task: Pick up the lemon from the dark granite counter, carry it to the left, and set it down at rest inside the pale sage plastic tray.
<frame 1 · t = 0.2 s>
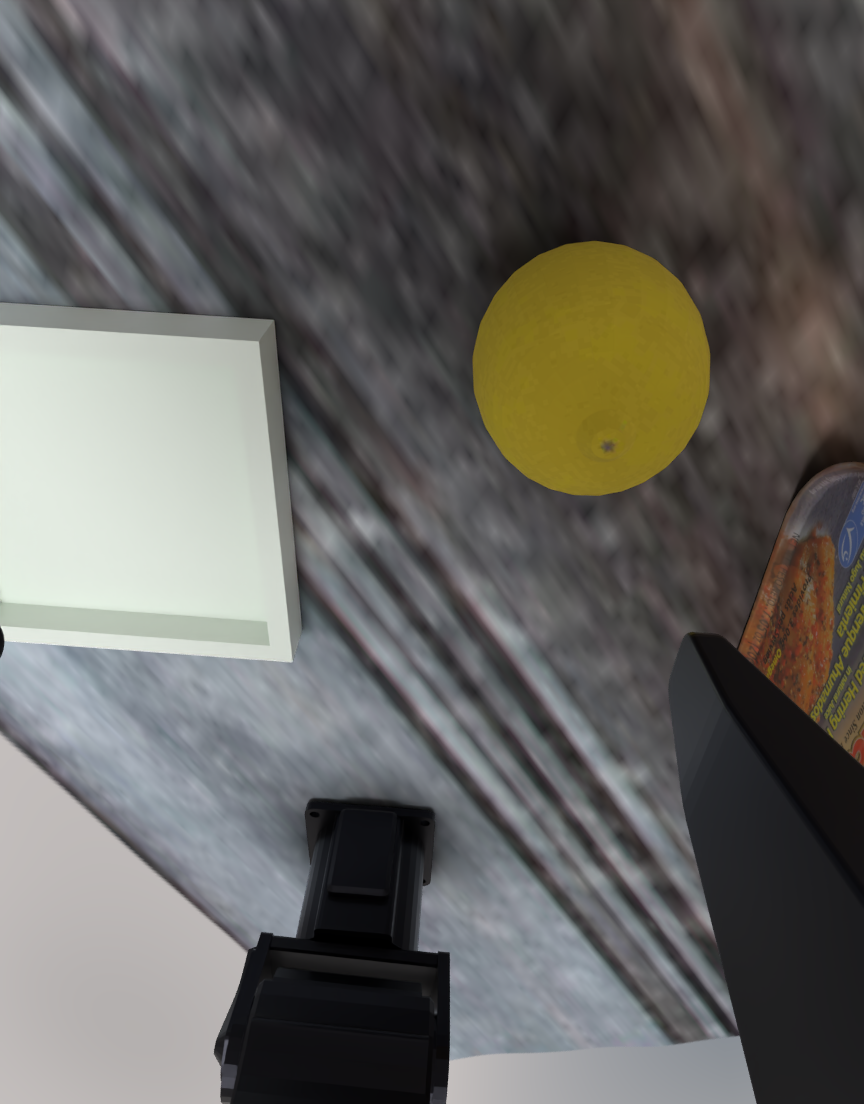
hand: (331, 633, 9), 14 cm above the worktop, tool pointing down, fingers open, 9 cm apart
tray: (113, 486, 25), on the worktop
lemon: (569, 312, 21), on the worktop
tin: (795, 596, 27), on the worktop
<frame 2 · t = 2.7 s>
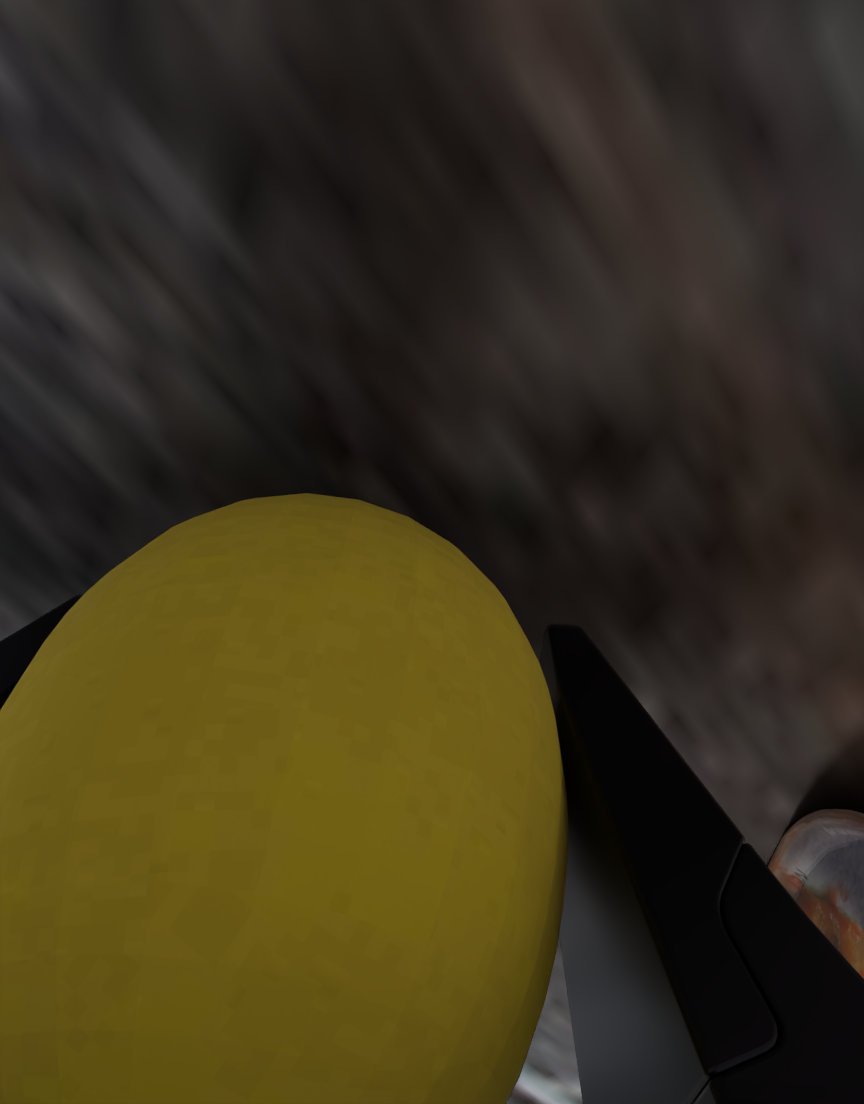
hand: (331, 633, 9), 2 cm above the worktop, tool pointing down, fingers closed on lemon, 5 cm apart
lemon: (353, 549, 11), on the worktop, touching gripper
tin: (800, 921, 16), on the worktop
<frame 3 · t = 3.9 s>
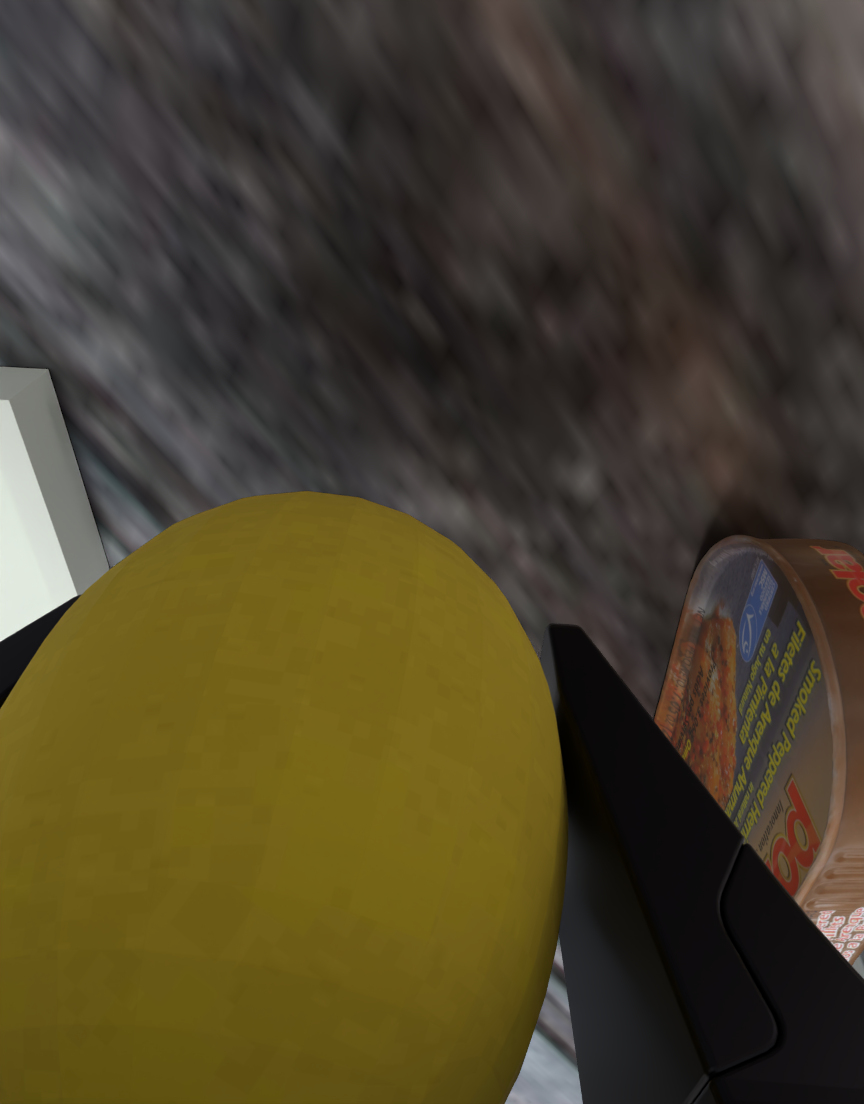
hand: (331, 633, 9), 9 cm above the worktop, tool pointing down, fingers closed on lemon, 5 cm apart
lemon: (353, 547, 11), point 8 cm above the worktop, touching gripper
tin: (712, 673, 23), on the worktop
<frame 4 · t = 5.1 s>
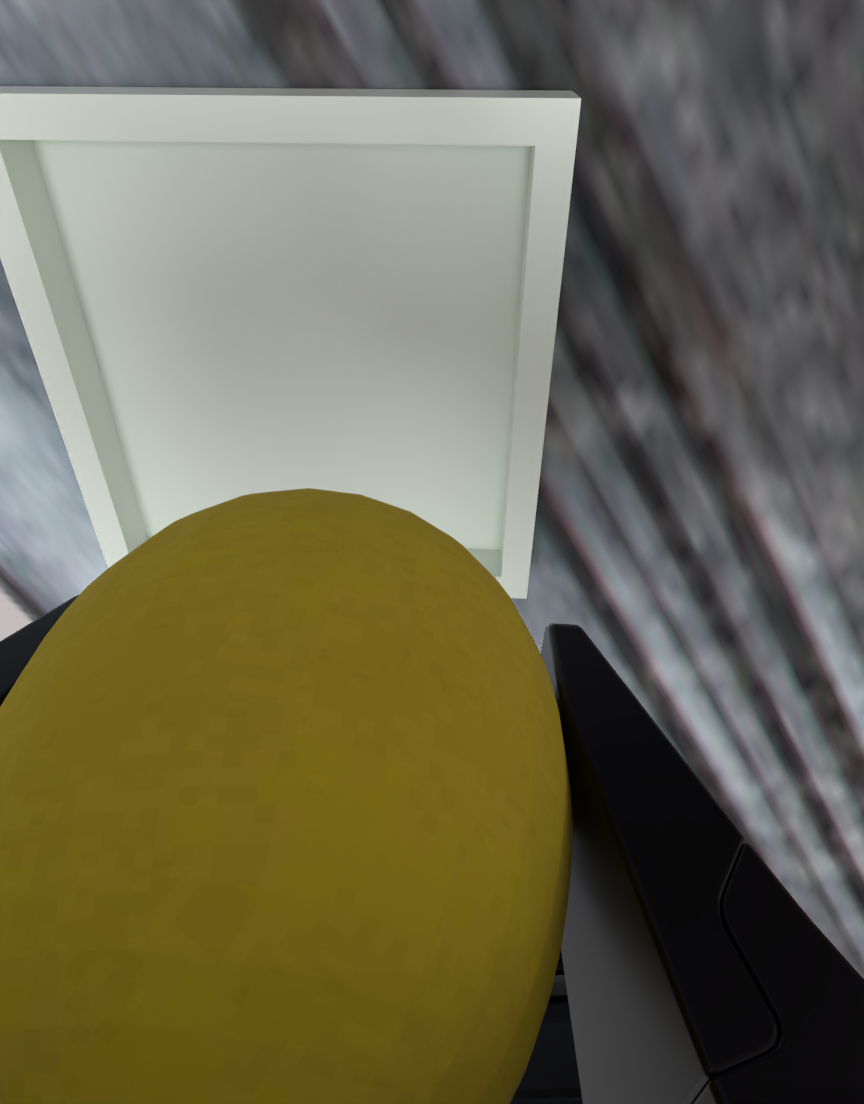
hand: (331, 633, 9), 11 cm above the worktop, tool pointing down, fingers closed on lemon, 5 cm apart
tray: (307, 367, 19), on the worktop
lemon: (354, 545, 11), point 10 cm above the worktop, touching gripper
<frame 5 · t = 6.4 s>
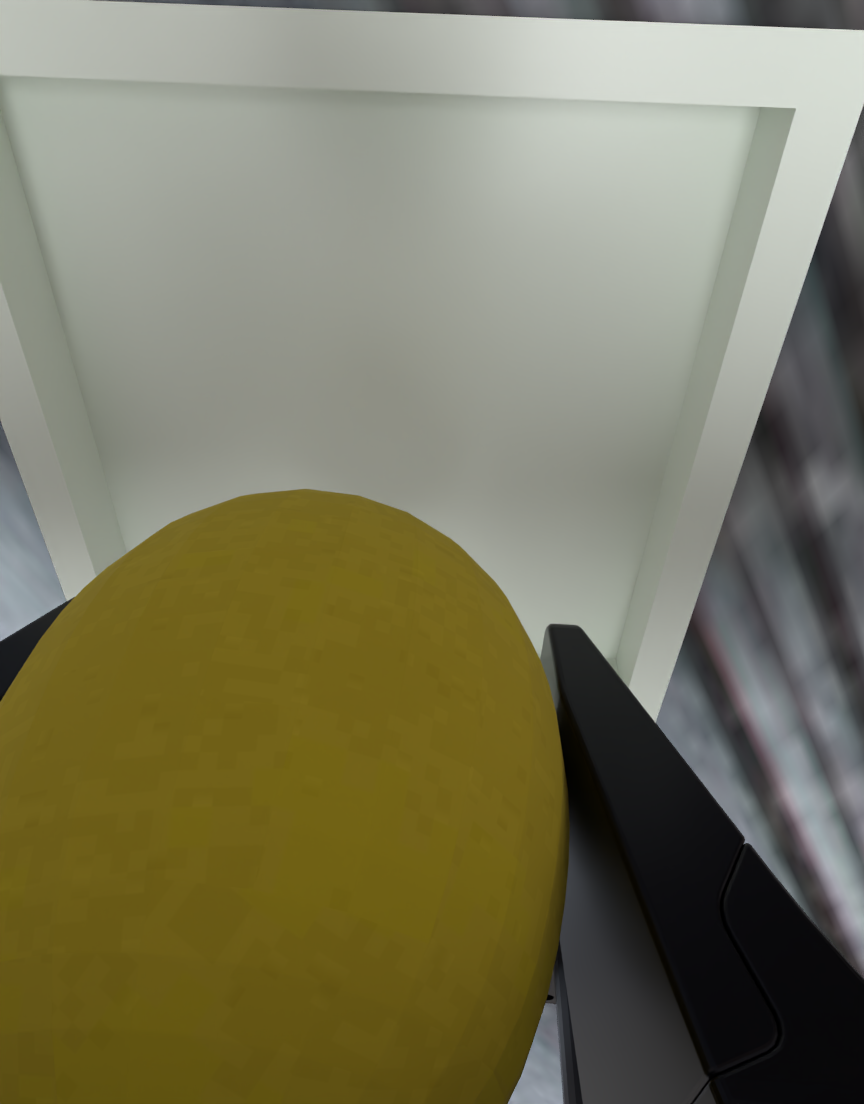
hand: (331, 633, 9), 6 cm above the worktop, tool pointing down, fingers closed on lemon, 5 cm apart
tray: (379, 420, 14), on the worktop
lemon: (352, 546, 11), point 4 cm above the worktop, touching gripper
when the fingers open (3 cm above the worktop, at t = 7.7 s): lemon drops 1 cm, resting on tray.
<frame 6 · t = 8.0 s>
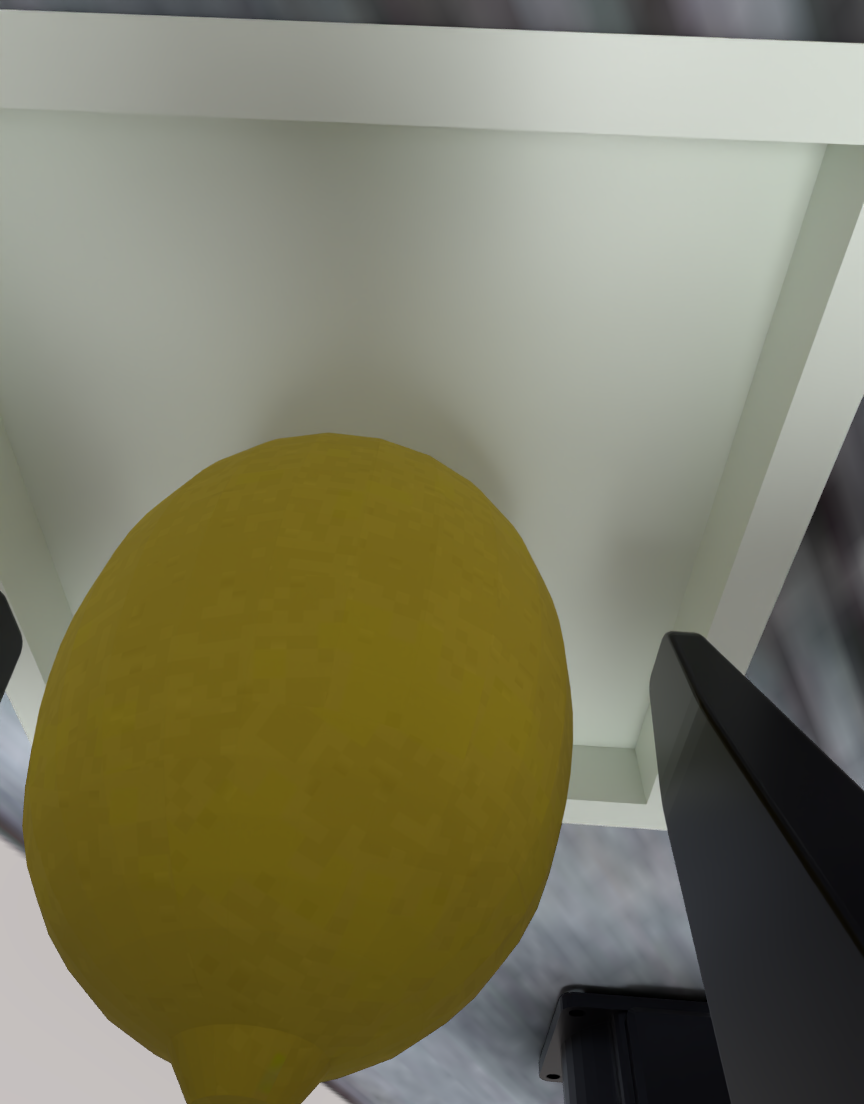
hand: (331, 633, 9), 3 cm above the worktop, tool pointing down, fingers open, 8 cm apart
tray: (365, 493, 12), on the worktop
lemon: (367, 503, 12), resting on tray
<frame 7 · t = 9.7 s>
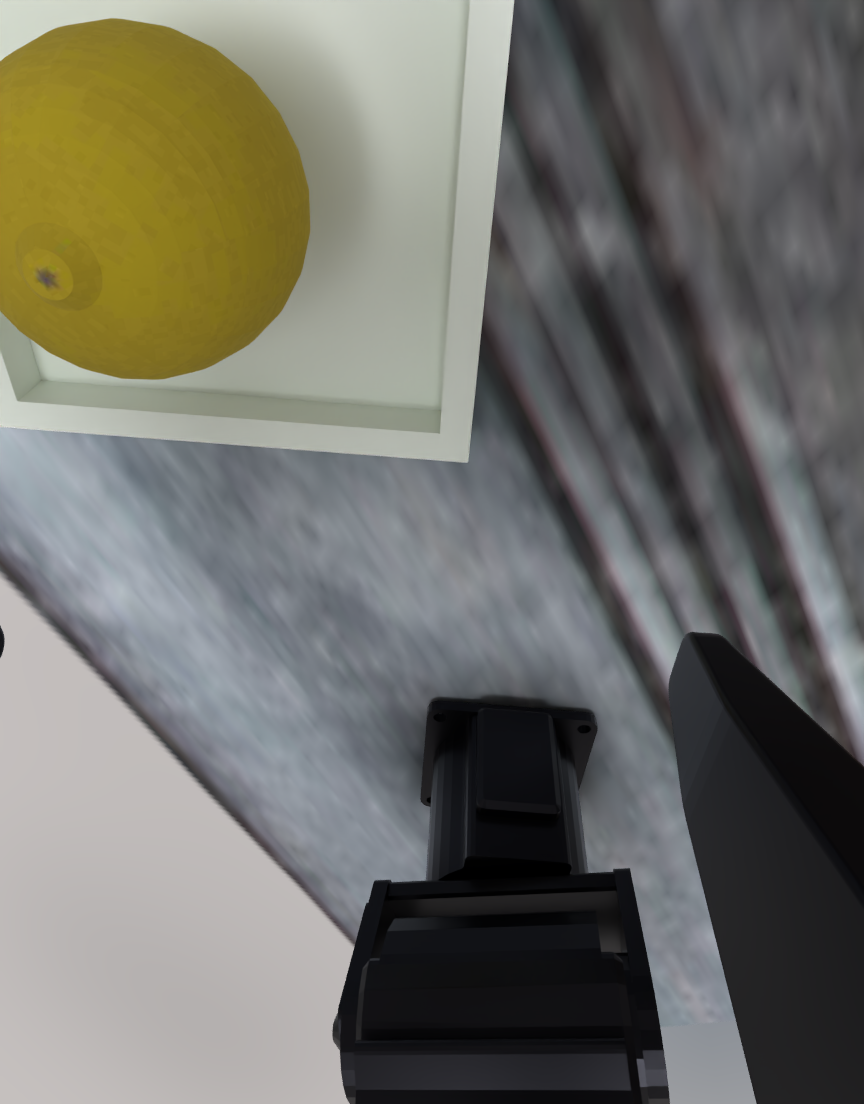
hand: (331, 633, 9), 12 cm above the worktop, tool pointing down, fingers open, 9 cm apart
tray: (221, 166, 16), on the worktop
lemon: (220, 168, 16), resting on tray
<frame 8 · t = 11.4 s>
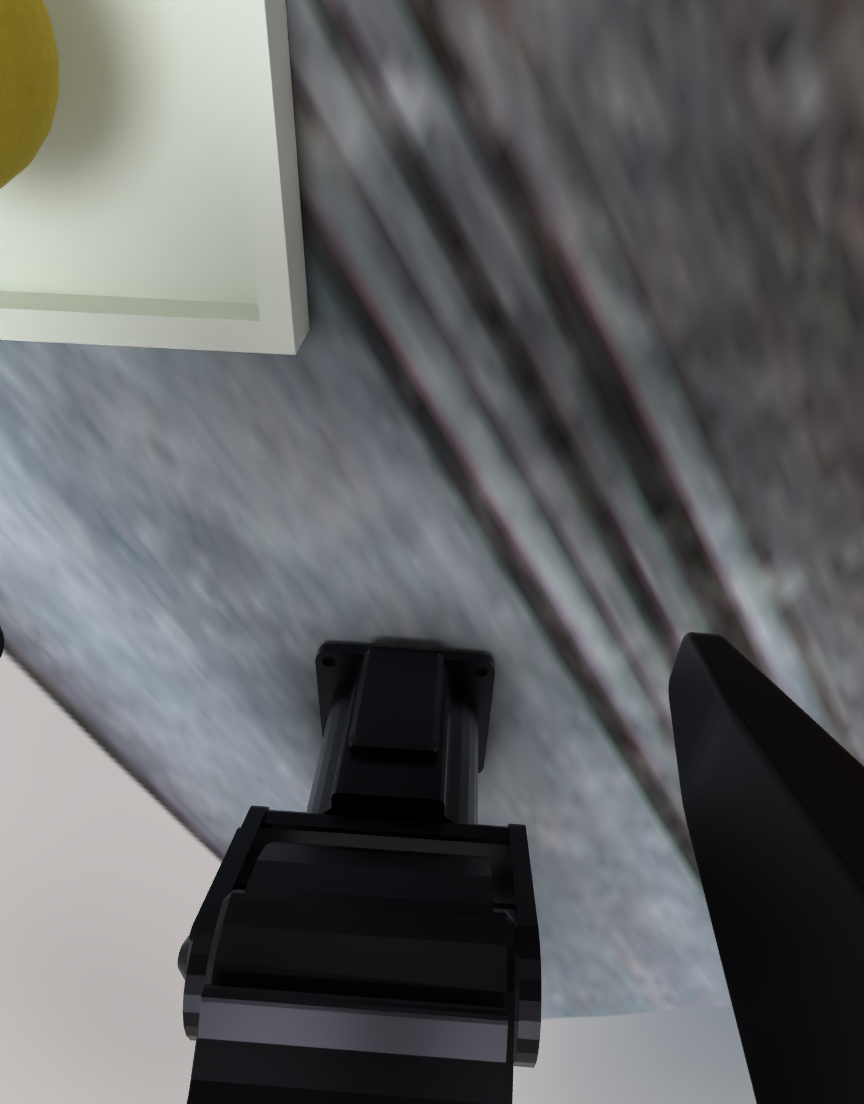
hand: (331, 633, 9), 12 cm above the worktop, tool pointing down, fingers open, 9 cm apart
tray: (2, 30, 15), on the worktop
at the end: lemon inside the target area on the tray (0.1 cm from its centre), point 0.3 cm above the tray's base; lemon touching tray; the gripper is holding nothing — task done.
